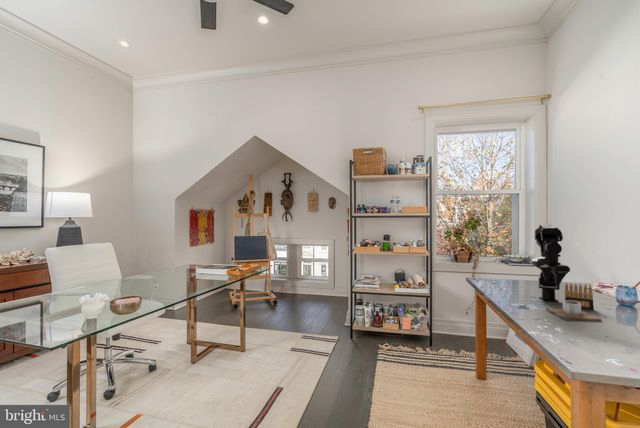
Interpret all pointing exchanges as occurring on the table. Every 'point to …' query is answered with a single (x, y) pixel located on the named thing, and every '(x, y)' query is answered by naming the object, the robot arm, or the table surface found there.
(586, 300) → the ammunition clip
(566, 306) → the tube
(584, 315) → the post base
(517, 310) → the table surface
